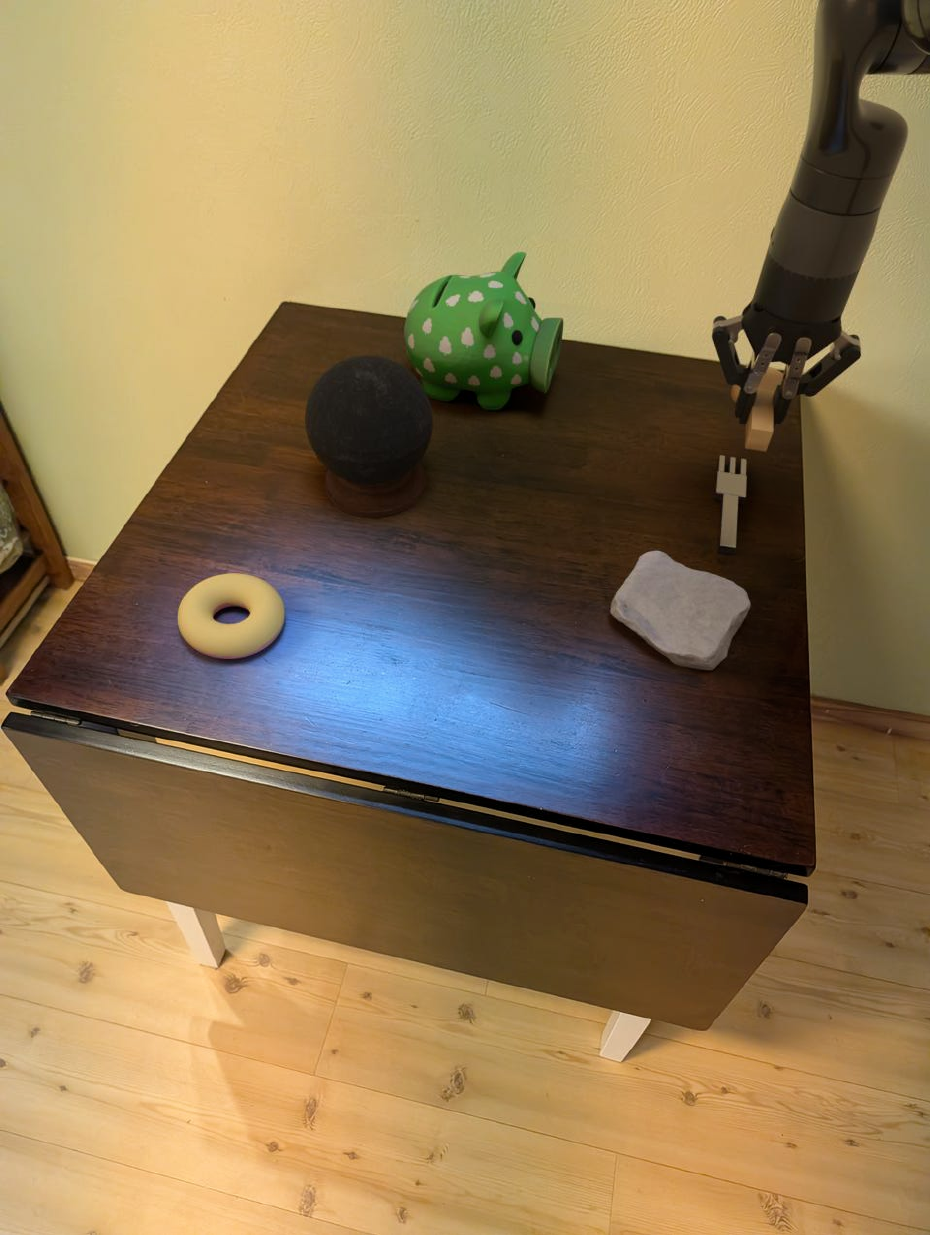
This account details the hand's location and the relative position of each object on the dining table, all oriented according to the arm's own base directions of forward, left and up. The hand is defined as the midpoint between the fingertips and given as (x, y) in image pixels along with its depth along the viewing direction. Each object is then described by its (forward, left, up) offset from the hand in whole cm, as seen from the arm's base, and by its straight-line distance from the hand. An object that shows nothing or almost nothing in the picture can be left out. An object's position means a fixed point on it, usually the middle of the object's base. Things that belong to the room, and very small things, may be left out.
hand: (756, 420), depth 82 cm
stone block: (-8, +16, -12) cm, 22 cm away
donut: (+17, +50, -12) cm, 55 cm away
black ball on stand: (+26, +28, -12) cm, 41 cm away
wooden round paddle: (0, 0, 0) cm, 1 cm away
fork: (0, -1, -12) cm, 12 cm away
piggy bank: (+33, +8, -12) cm, 36 cm away
